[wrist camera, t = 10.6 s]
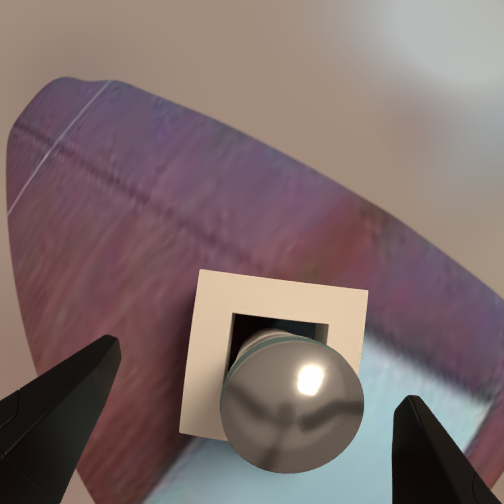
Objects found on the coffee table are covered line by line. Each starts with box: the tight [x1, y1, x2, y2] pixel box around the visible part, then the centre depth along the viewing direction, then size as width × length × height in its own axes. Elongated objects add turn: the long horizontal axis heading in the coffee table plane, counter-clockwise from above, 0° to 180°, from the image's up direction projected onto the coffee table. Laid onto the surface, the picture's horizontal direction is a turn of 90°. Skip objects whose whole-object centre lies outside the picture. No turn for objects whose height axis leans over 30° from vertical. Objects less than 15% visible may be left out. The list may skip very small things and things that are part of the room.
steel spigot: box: [220, 328, 364, 474], centre depth 15 cm, size 5×5×13 cm
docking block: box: [179, 269, 368, 441], centre depth 20 cm, size 10×10×4 cm
